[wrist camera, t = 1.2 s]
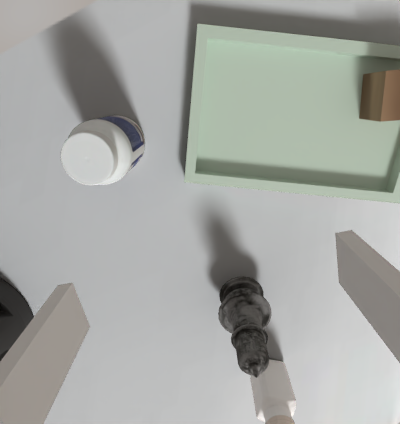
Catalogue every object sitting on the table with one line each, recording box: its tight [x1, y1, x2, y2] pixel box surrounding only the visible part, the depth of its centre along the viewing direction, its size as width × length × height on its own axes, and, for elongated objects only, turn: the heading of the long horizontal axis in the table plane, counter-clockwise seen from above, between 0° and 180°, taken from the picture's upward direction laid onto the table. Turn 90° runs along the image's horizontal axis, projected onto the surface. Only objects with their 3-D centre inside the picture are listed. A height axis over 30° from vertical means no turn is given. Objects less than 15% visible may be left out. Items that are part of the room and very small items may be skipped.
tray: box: [184, 24, 400, 203], centre depth 31 cm, size 22×14×2 cm, turn 84°
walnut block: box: [359, 70, 400, 122], centre depth 28 cm, size 4×4×4 cm
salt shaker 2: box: [250, 359, 296, 424], centre depth 38 cm, size 4×4×10 cm
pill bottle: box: [61, 115, 145, 185], centre depth 28 cm, size 5×5×10 cm
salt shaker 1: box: [218, 277, 271, 378], centre depth 33 cm, size 6×6×12 cm
